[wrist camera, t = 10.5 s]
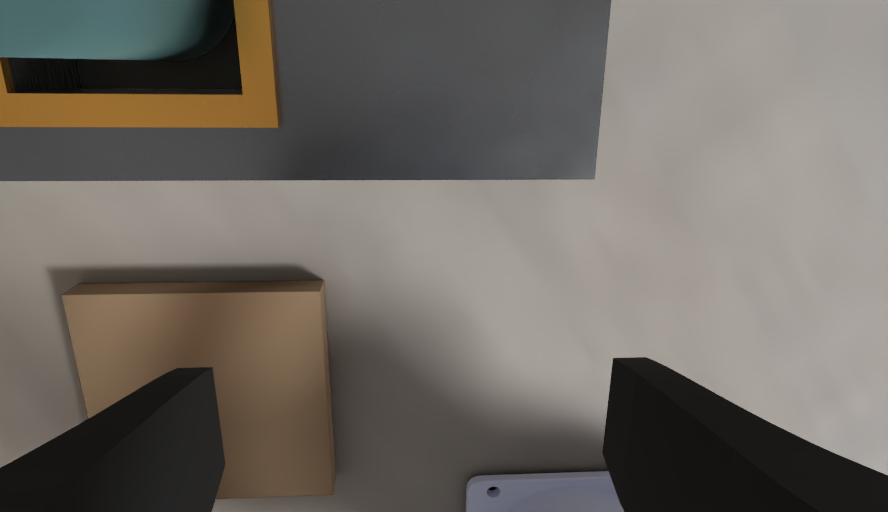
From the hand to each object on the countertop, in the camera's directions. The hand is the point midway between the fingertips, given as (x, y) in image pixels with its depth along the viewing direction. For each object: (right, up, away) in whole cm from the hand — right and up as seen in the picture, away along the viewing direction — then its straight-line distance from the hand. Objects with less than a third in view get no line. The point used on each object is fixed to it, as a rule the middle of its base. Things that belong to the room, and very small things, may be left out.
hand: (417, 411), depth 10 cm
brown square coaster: (-8, -2, +10) cm, 13 cm away
